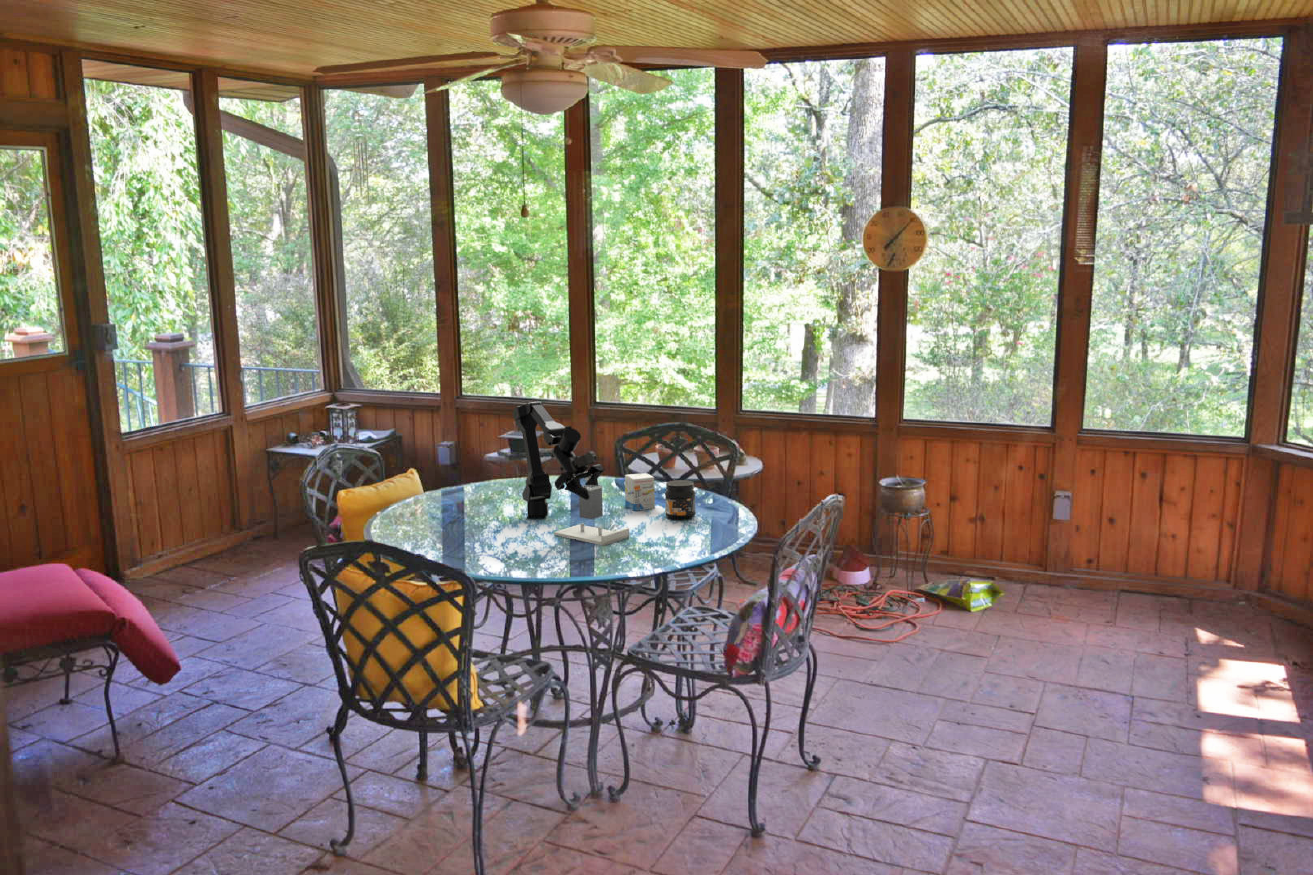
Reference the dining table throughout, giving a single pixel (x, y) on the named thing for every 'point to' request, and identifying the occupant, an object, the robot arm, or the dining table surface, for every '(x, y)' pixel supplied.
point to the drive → (591, 502)
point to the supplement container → (680, 499)
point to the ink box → (639, 491)
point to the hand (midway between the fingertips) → (593, 497)
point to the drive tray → (593, 534)
